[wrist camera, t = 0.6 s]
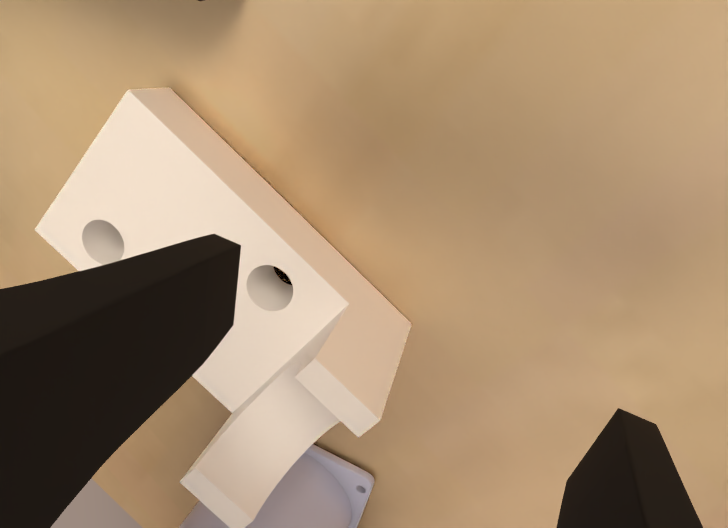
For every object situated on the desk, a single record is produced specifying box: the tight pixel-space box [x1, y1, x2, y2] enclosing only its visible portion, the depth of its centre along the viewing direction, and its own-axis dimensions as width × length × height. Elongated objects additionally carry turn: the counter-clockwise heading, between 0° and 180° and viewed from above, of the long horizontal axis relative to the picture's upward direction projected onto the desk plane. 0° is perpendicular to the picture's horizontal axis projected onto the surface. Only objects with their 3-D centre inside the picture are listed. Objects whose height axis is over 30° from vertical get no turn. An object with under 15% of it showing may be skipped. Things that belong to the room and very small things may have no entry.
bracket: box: [35, 87, 412, 528], centre depth 20 cm, size 13×7×8 cm, turn 50°
